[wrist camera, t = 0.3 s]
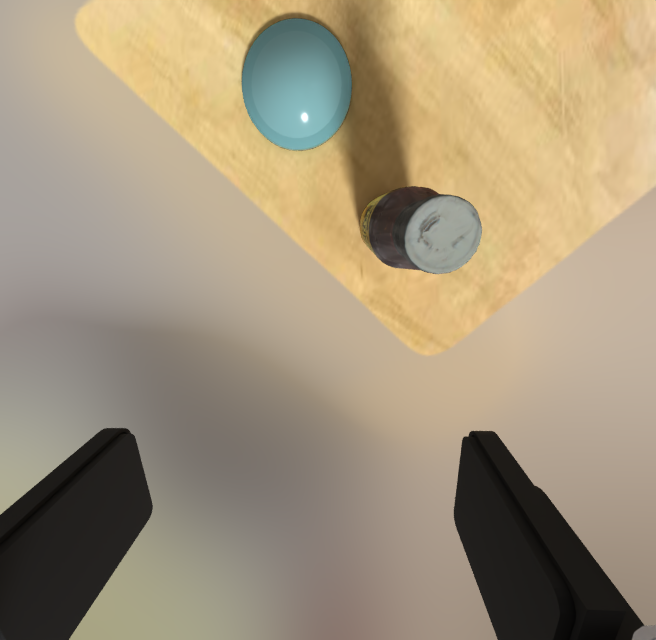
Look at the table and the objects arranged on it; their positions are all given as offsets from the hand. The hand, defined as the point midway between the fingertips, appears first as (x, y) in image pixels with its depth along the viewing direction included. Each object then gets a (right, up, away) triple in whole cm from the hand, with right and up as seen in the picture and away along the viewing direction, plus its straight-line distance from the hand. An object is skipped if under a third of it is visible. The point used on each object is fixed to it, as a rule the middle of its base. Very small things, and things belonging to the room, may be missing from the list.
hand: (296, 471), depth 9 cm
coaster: (-2, +28, +22) cm, 36 cm away
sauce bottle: (+8, +15, +26) cm, 31 cm away
